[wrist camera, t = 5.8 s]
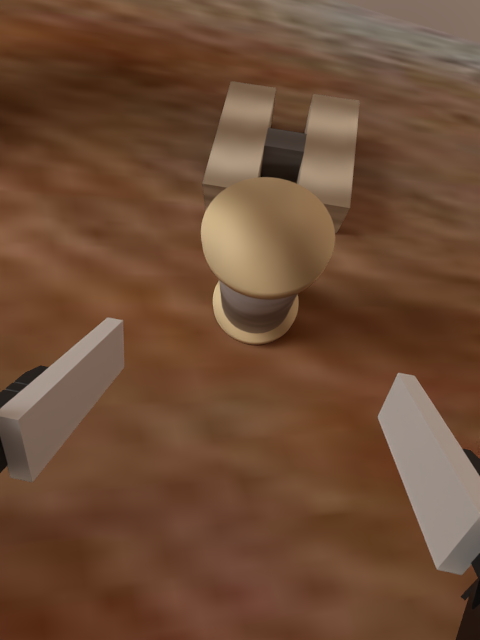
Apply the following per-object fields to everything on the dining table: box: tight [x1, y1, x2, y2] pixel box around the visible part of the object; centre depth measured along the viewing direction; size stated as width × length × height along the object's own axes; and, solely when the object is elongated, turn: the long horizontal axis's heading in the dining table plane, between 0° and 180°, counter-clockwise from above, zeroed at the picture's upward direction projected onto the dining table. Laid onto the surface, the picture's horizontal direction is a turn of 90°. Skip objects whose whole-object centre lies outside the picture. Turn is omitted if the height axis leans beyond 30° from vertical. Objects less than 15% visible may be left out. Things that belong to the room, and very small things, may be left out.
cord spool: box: [201, 177, 335, 345], centre depth 24 cm, size 8×8×12 cm
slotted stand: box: [202, 81, 360, 233], centre depth 33 cm, size 14×14×4 cm
